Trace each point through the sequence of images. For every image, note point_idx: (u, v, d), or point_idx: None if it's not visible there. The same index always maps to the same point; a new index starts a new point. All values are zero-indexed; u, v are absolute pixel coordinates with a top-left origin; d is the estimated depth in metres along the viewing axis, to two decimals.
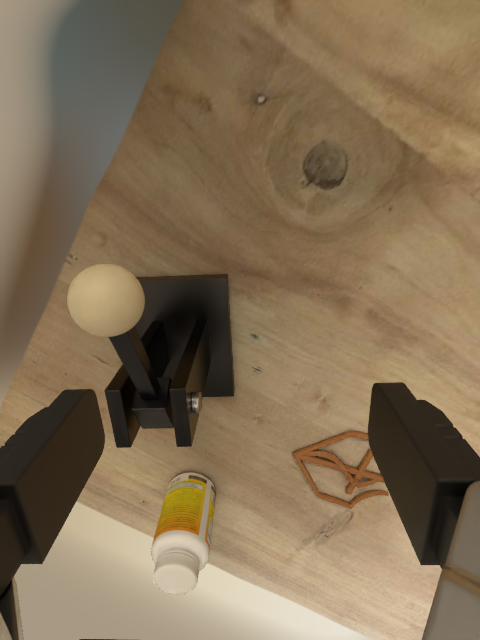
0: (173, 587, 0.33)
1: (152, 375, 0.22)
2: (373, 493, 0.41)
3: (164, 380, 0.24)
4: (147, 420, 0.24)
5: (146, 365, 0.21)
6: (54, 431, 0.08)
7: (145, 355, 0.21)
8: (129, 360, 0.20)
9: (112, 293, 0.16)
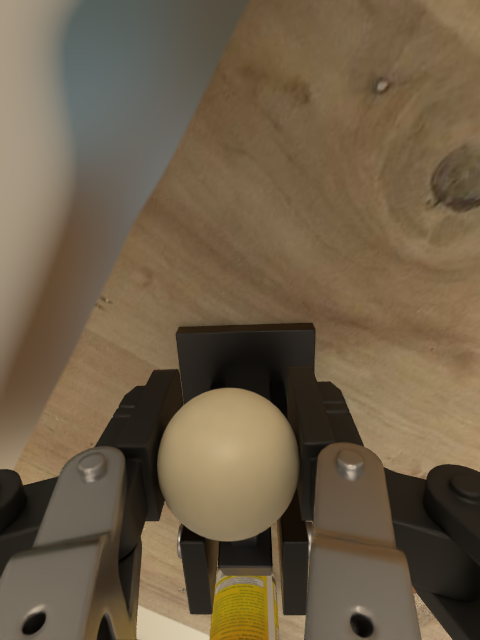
0: None
1: None
2: None
3: None
4: (237, 572, 0.16)
5: None
6: (161, 404, 0.09)
7: None
8: None
9: (263, 475, 0.07)
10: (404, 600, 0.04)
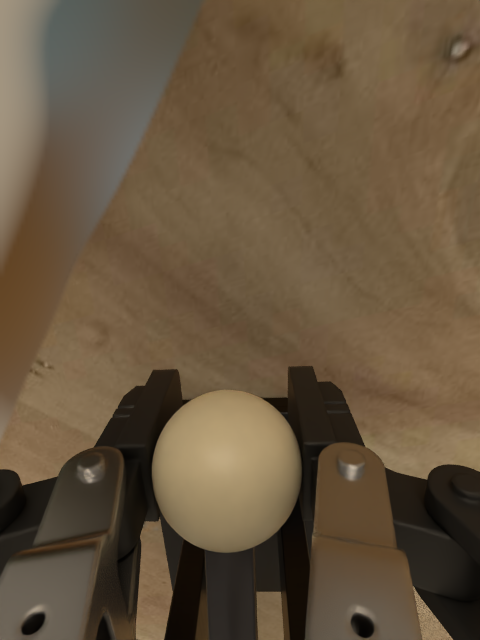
0: None
1: None
2: None
3: None
4: None
5: None
6: (161, 404, 0.09)
7: None
8: None
9: (262, 426, 0.07)
10: (405, 601, 0.04)
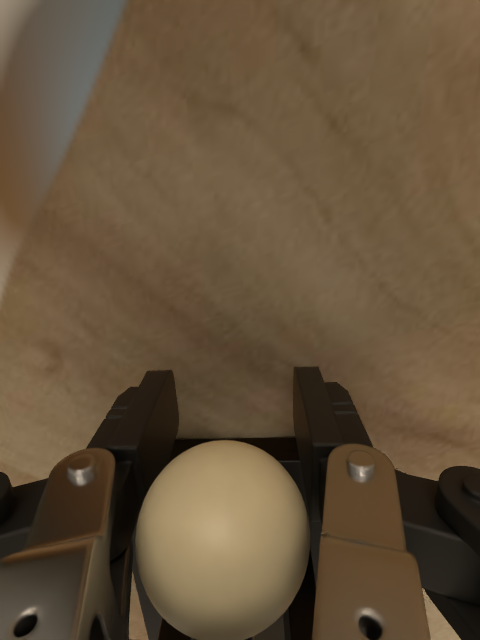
0: None
1: None
2: None
3: None
4: None
5: None
6: (154, 405, 0.09)
7: None
8: None
9: (263, 474, 0.07)
10: (414, 604, 0.04)
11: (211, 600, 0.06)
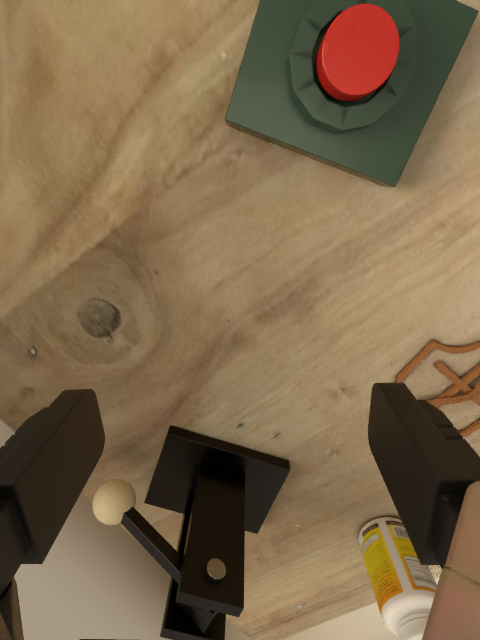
0: None
1: (173, 555, 0.27)
2: None
3: None
4: (192, 612, 0.25)
5: (159, 543, 0.28)
6: (54, 431, 0.08)
7: (157, 536, 0.28)
8: (143, 542, 0.28)
9: (99, 490, 0.30)
10: None
11: (101, 517, 0.29)
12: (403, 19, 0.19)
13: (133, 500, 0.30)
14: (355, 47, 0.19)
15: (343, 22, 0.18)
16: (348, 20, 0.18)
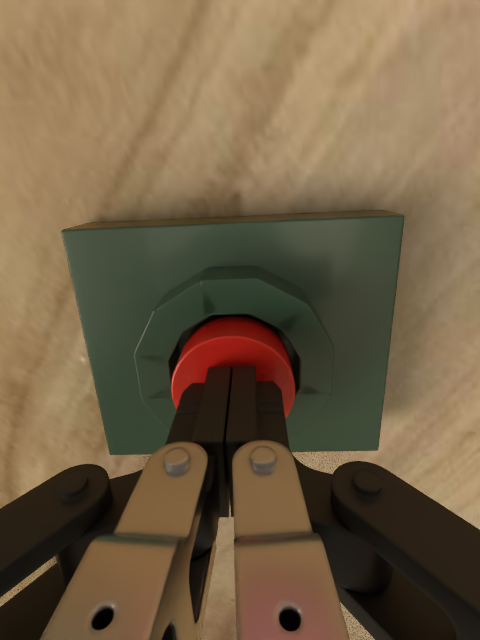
0: None
1: None
2: None
3: None
4: None
5: None
6: (226, 400, 0.09)
7: None
8: None
9: None
10: (324, 582, 0.04)
11: None
12: (283, 307, 0.12)
13: None
14: None
15: (188, 372, 0.11)
16: (194, 367, 0.11)
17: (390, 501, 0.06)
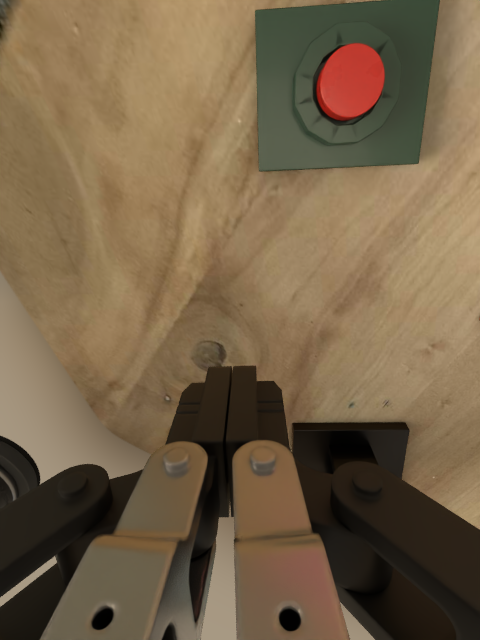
0: None
1: None
2: None
3: None
4: None
5: None
6: (226, 400, 0.09)
7: None
8: None
9: None
10: (324, 582, 0.04)
11: None
12: (378, 39, 0.23)
13: None
14: (347, 80, 0.23)
15: (331, 67, 0.23)
16: (334, 64, 0.23)
17: (390, 501, 0.06)
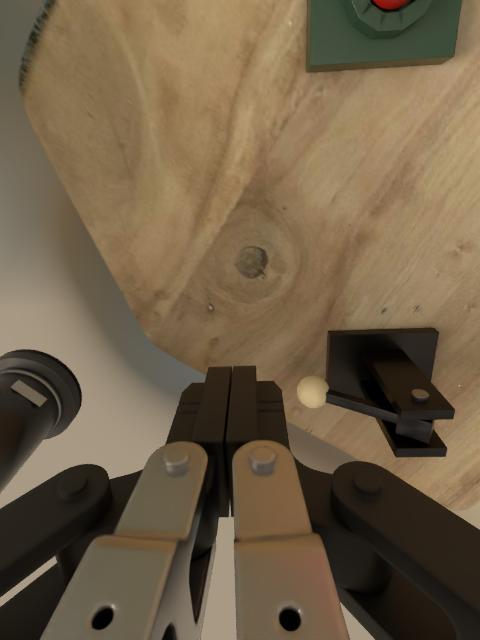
0: None
1: (378, 405, 0.35)
2: None
3: None
4: (413, 433, 0.32)
5: (363, 402, 0.35)
6: (226, 400, 0.09)
7: (359, 398, 0.36)
8: (350, 406, 0.36)
9: (299, 385, 0.38)
10: (325, 582, 0.04)
11: (310, 400, 0.37)
12: None
13: (327, 384, 0.38)
14: None
15: None
16: None
17: (390, 501, 0.06)
